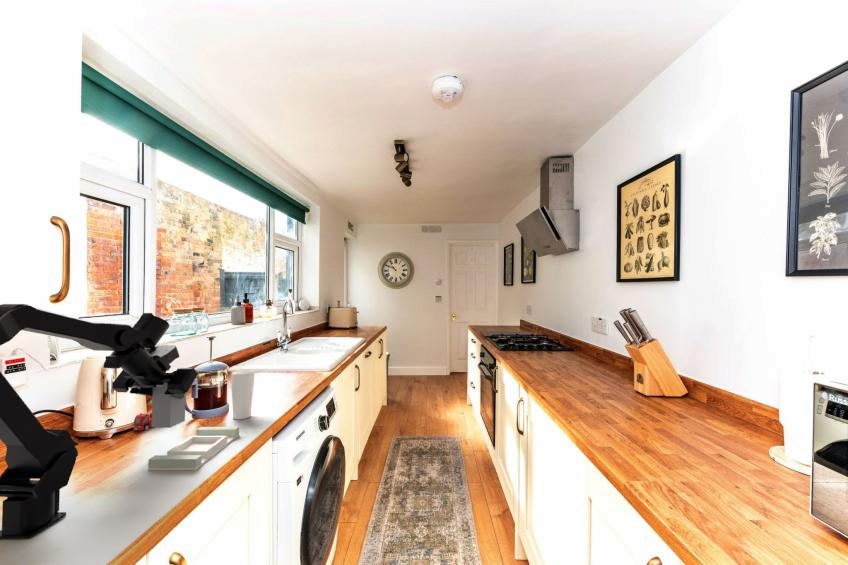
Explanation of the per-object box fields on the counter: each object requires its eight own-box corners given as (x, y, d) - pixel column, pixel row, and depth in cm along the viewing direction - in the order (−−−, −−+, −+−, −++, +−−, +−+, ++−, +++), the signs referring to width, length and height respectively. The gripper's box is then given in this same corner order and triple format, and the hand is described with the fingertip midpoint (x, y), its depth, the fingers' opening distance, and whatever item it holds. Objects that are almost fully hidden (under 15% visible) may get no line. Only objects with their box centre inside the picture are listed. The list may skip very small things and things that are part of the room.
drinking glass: (232, 415, 120) (233, 370, 121) (254, 413, 122) (255, 369, 123) (228, 422, 114) (229, 374, 114) (251, 419, 116) (252, 373, 116)
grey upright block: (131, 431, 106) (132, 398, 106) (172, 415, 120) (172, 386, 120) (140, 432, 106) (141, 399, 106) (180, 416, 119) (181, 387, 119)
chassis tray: (196, 469, 83) (196, 459, 83) (148, 470, 83) (148, 459, 83) (239, 435, 103) (239, 426, 103) (200, 435, 103) (200, 426, 103)
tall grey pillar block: (170, 427, 91) (171, 380, 91) (151, 427, 91) (152, 379, 91) (184, 420, 96) (185, 375, 96) (167, 420, 96) (168, 375, 96)
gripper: (193, 336, 89) (221, 371, 100) (124, 335, 91) (158, 370, 102) (167, 375, 81) (200, 408, 92) (92, 373, 83) (133, 406, 93)
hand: (173, 396), depth 95 cm, fingers closed on tall grey pillar block, 5 cm apart
